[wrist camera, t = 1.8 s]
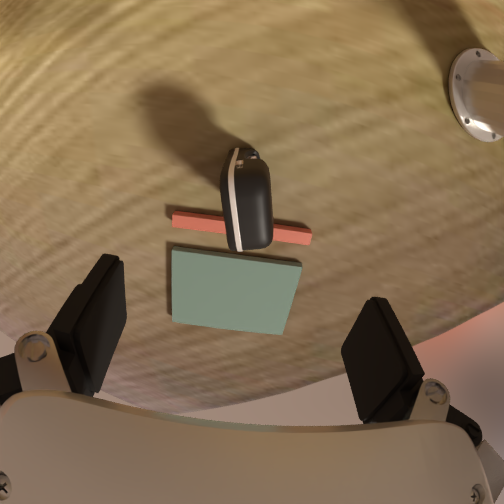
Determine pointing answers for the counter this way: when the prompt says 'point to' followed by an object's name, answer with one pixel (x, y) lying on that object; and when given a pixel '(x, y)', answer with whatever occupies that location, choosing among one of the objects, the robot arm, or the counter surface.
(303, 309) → the counter surface
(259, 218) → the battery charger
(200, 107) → the counter surface
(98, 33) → the counter surface
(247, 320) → the mat
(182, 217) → the bar
